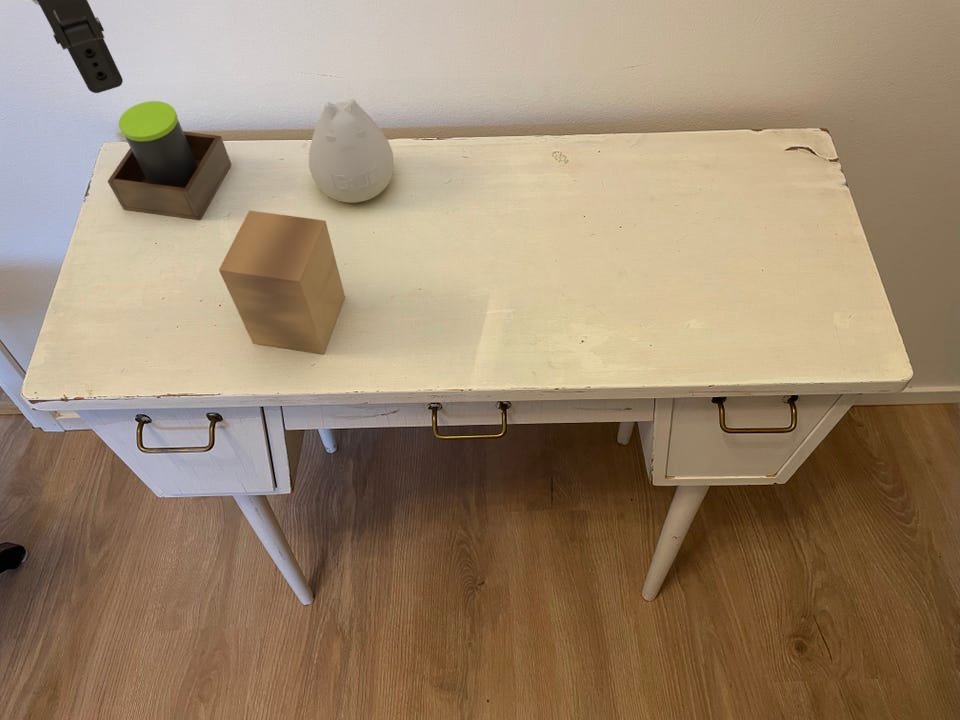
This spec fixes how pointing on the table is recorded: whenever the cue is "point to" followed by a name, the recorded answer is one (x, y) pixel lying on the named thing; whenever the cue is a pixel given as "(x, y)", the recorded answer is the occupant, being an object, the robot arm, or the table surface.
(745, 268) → the table surface
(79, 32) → the robot arm
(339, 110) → the toy character
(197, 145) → the bin
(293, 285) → the stand
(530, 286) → the table surface
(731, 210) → the table surface
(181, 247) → the table surface
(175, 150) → the ball tube
